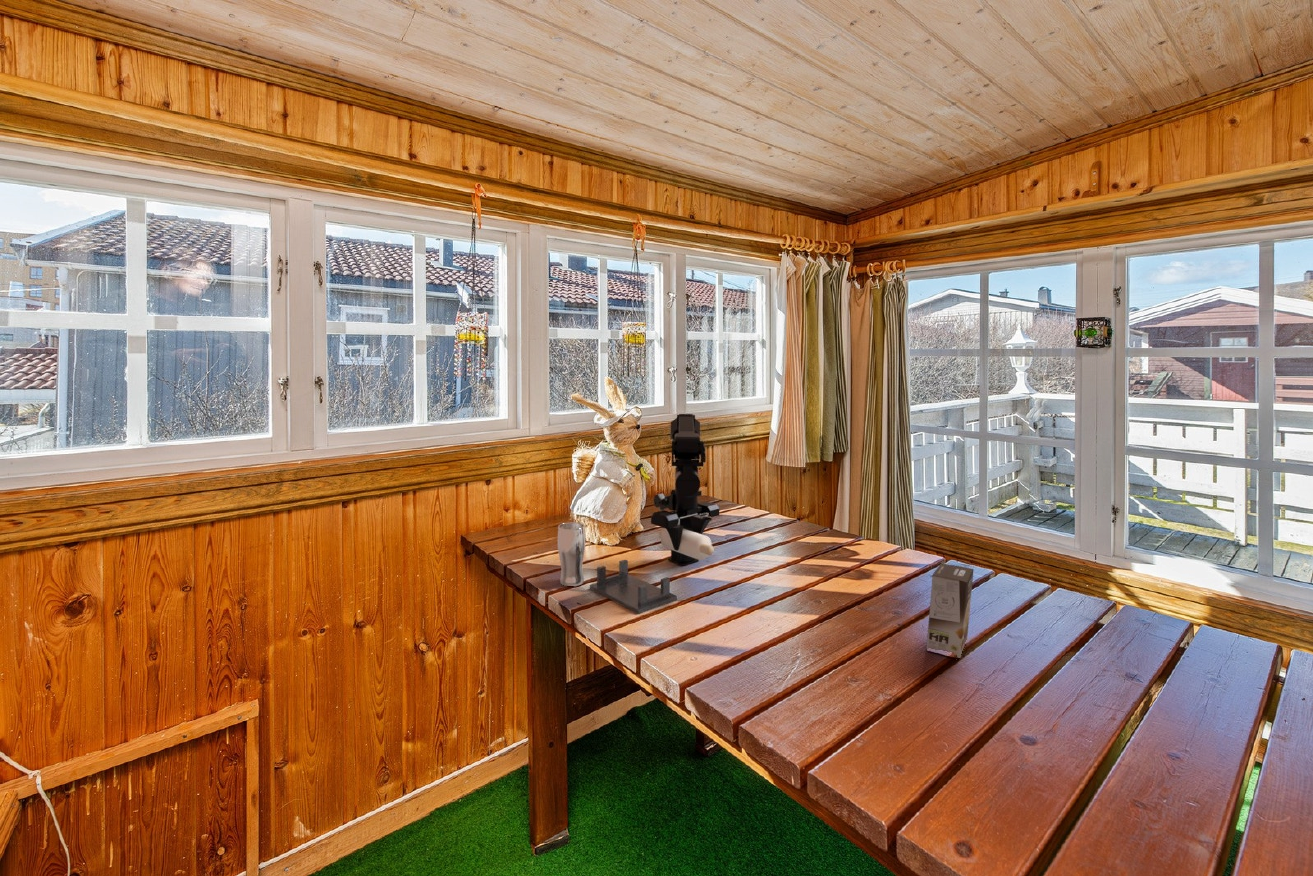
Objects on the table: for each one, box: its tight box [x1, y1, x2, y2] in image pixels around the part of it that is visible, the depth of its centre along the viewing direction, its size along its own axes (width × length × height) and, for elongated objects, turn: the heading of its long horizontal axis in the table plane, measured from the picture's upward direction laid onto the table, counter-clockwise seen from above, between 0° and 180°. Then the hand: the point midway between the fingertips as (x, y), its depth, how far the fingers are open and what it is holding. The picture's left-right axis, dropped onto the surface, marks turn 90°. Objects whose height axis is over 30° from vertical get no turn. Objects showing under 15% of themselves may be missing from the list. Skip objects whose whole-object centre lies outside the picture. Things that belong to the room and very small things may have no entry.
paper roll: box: [659, 528, 715, 561], centre depth 151 cm, size 17×6×6 cm, turn 42°
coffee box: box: [926, 563, 975, 659], centre depth 122 cm, size 9×6×16 cm
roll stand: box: [589, 559, 678, 615], centre depth 148 cm, size 12×19×6 cm, turn 41°
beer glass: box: [557, 521, 586, 587], centre depth 154 cm, size 7×7×15 cm
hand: (685, 547), depth 151 cm, fingers closed on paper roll, 6 cm apart
